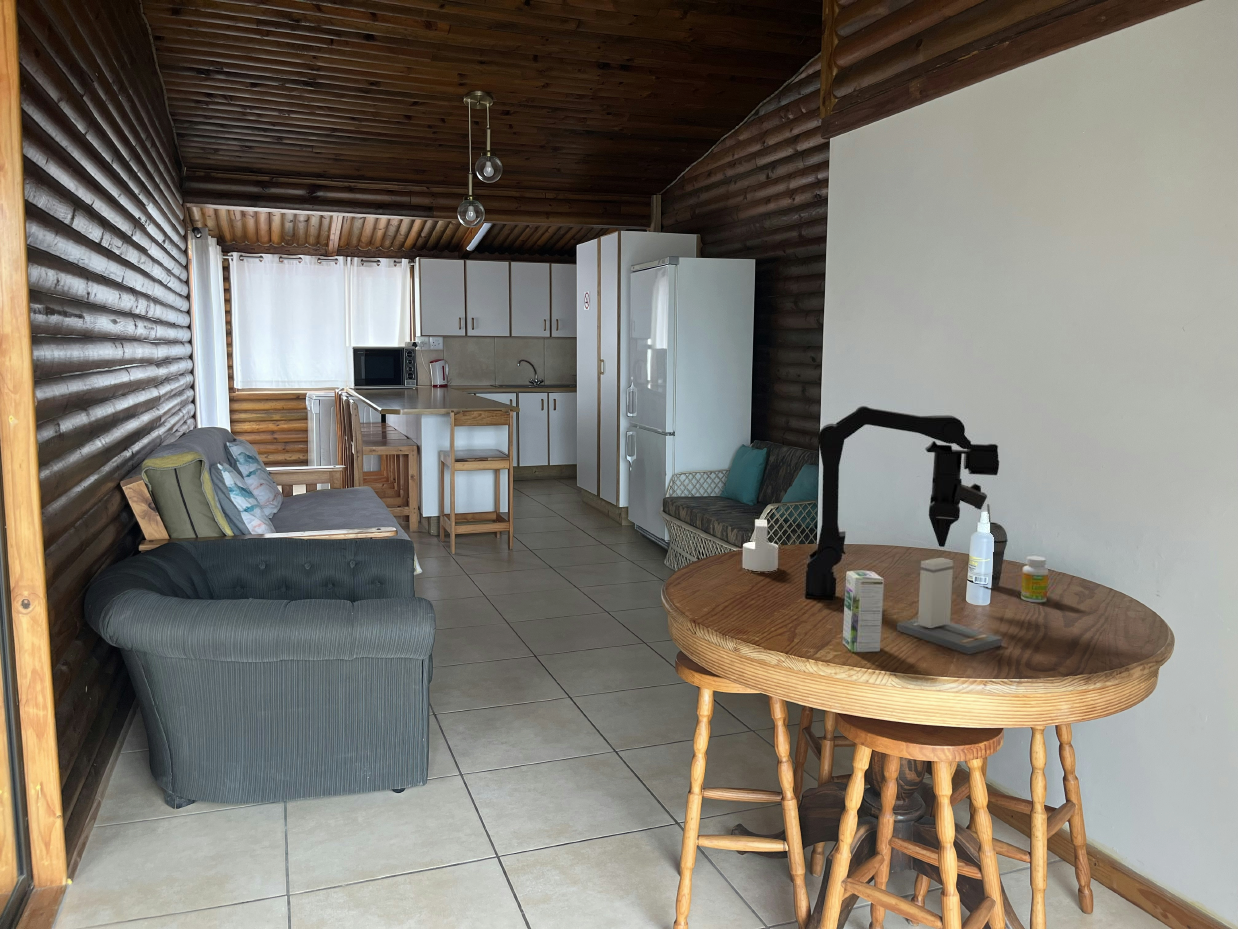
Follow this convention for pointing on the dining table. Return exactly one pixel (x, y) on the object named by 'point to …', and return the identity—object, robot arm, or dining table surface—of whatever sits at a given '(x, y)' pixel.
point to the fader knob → (935, 592)
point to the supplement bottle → (1034, 580)
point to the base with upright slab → (760, 550)
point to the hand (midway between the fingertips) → (942, 542)
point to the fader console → (952, 636)
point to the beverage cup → (997, 549)
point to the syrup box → (863, 611)
